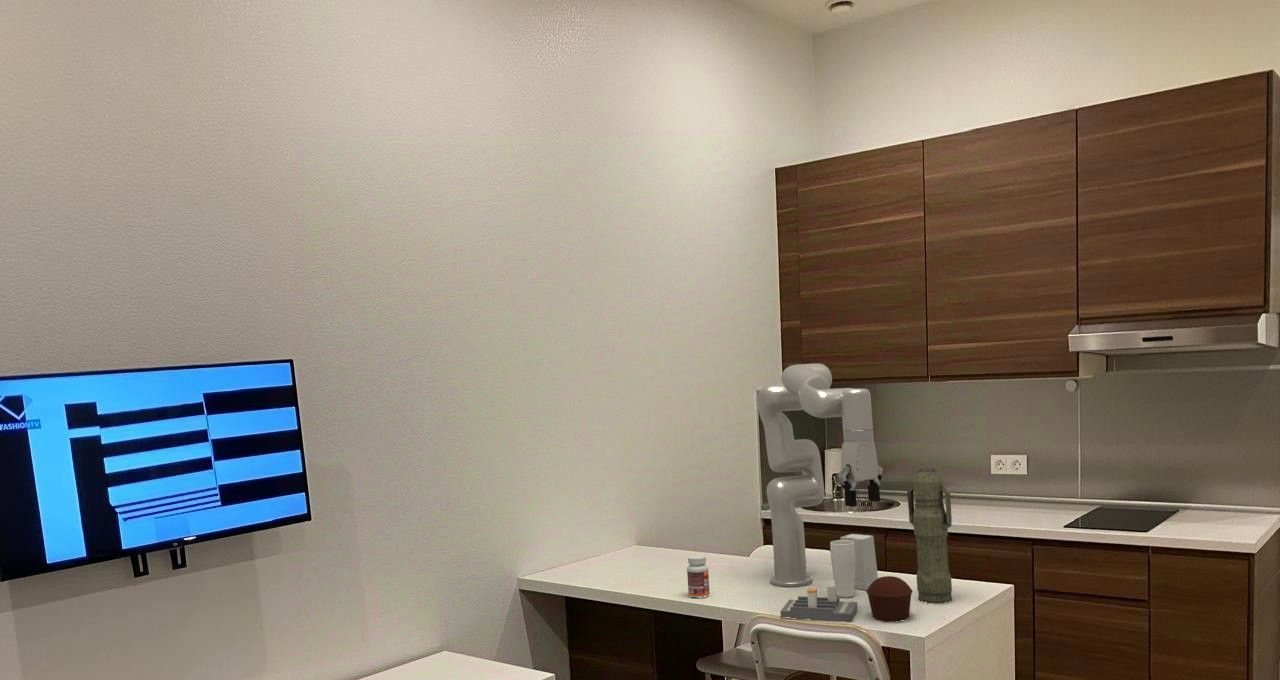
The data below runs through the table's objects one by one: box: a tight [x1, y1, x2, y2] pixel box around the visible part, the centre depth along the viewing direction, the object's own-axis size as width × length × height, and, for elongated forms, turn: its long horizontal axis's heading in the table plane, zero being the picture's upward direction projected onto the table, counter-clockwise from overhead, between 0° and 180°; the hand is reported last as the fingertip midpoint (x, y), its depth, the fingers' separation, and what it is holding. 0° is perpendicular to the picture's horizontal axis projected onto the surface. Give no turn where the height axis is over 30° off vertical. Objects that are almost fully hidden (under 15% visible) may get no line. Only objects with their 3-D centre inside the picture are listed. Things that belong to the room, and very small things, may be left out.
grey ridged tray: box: [780, 583, 858, 623], centre depth 239 cm, size 12×18×7 cm, turn 70°
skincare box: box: [839, 533, 879, 591], centre depth 266 cm, size 8×6×15 cm
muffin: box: [865, 575, 913, 623], centre depth 233 cm, size 12×11×10 cm
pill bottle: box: [686, 554, 711, 598], centre depth 265 cm, size 6×6×11 cm
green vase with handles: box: [906, 468, 953, 604], centre depth 248 cm, size 9×12×35 cm
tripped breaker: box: [806, 587, 818, 608], centre depth 236 cm, size 2×2×5 cm
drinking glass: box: [829, 539, 856, 599], centre depth 257 cm, size 7×7×15 cm
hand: (863, 503), depth 234 cm, fingers open, 9 cm apart
